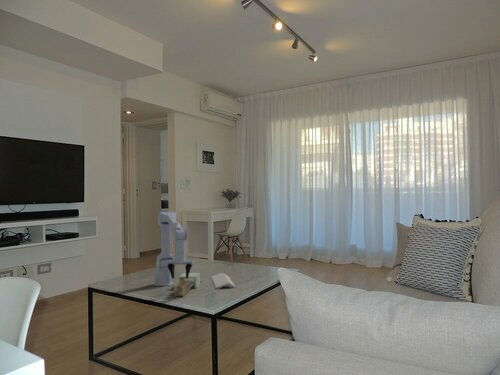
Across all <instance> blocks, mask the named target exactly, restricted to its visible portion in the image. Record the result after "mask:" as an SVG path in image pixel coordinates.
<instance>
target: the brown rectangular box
mask: <svg viewBox="0 0 500 375" xmlns="http://www.w3.org/2000/svg"><path fill="white" fill-rule="evenodd" d="M190 281H191V280H186V281H180V282H179V281H178V282H177V283H176V284H175V285H173V287H174V288H173V290H174V291H173V295H174V297H176V296H182V297H184V296H185V295H187V293H188V292H189V291H190V290H191V288H190Z"/></svg>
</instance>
